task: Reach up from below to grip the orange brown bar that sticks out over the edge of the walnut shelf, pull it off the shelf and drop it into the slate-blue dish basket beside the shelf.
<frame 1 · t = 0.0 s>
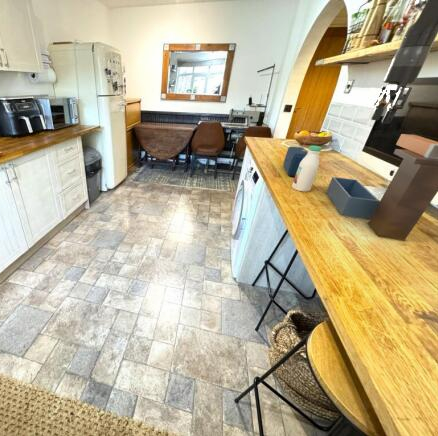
hand: (379, 121, 81), 33 cm above the counter, tool pointing down, fingers open, 8 cm apart
radio: (292, 172, 136), on the counter
orange brown bar: (417, 151, 75), point 26 cm above the counter, touching shelf stand
shelf stand: (382, 228, 84), on the counter
milk bottle: (300, 189, 115), on the counter
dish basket: (345, 204, 100), on the counter
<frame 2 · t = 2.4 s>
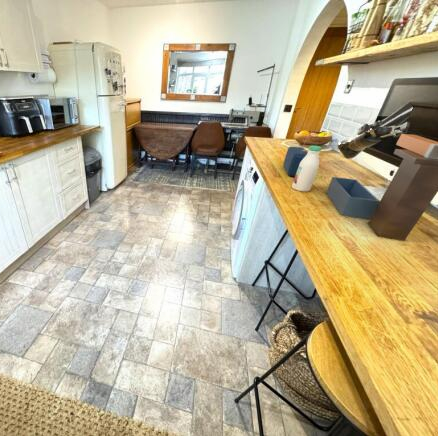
hand: (394, 123, 90), 31 cm above the counter, tool pointing upward, fingers open, 8 cm apart
nothing on the counter moved.
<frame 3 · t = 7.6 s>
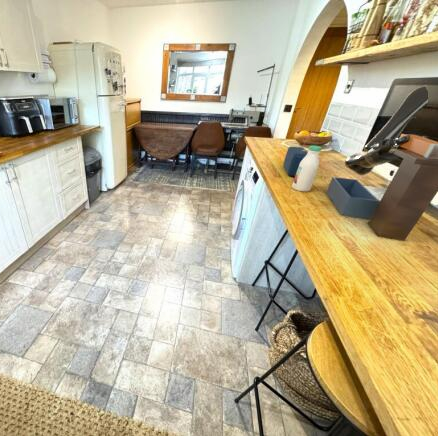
hand: (416, 138, 76), 29 cm above the counter, tool pointing upward, fingers closed on orange brown bar, 3 cm apart
orange brown bar: (417, 151, 75), point 26 cm above the counter, touching gripper, shelf stand
everything else where it was.
when the fingers open (22 cm above the counter, at t = 14.2 s): orange brown bar drops 18 cm, resting on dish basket.
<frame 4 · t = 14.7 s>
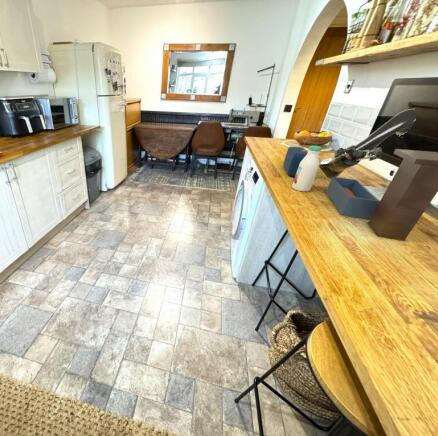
hand: (366, 148, 92), 22 cm above the counter, tool pointing upward, fingers open, 8 cm apart
orange brown bar: (345, 202, 100), point 1 cm above the counter, touching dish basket
everything else where it was.
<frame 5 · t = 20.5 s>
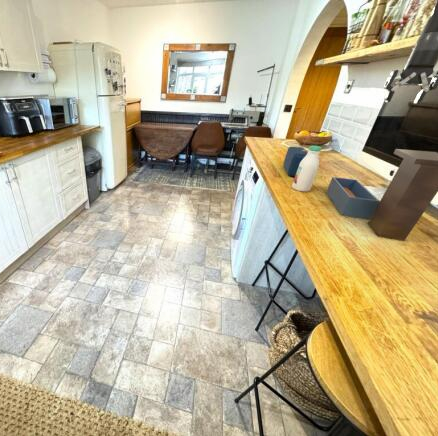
hand: (401, 102, 89), 38 cm above the counter, tool pointing down, fingers open, 8 cm apart
nothing on the counter moved.
at the end: orange brown bar inside the target area in the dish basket (0.3 cm from its centre), point 0.6 cm above the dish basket's base; the gripper is holding nothing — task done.
